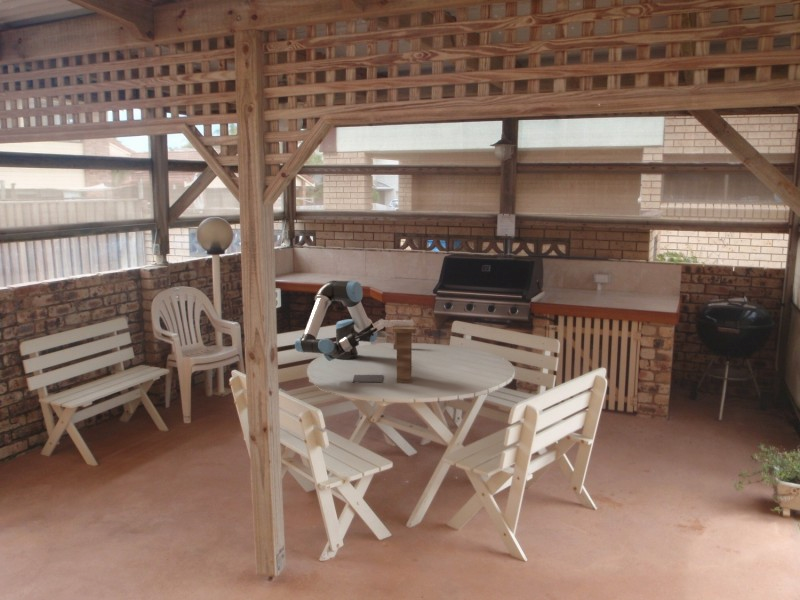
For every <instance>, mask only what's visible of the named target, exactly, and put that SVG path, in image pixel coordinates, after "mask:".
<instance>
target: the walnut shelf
mask: <svg viewBox="0 0 800 600" xmlns="http://www.w3.org/2000/svg"><path fill="white" fill-rule="evenodd" d="M392 333H393V334H394V333H397V349H396V383H412V372H413V370H412V367H413V366H412V363H413V362H412V358H413V357H412V355H413V354H412V348H413V347H412V346H413V345H412V337H413V336H412V334H413V333H415V334H416V323H415V322H413V327H392Z"/></svg>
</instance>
